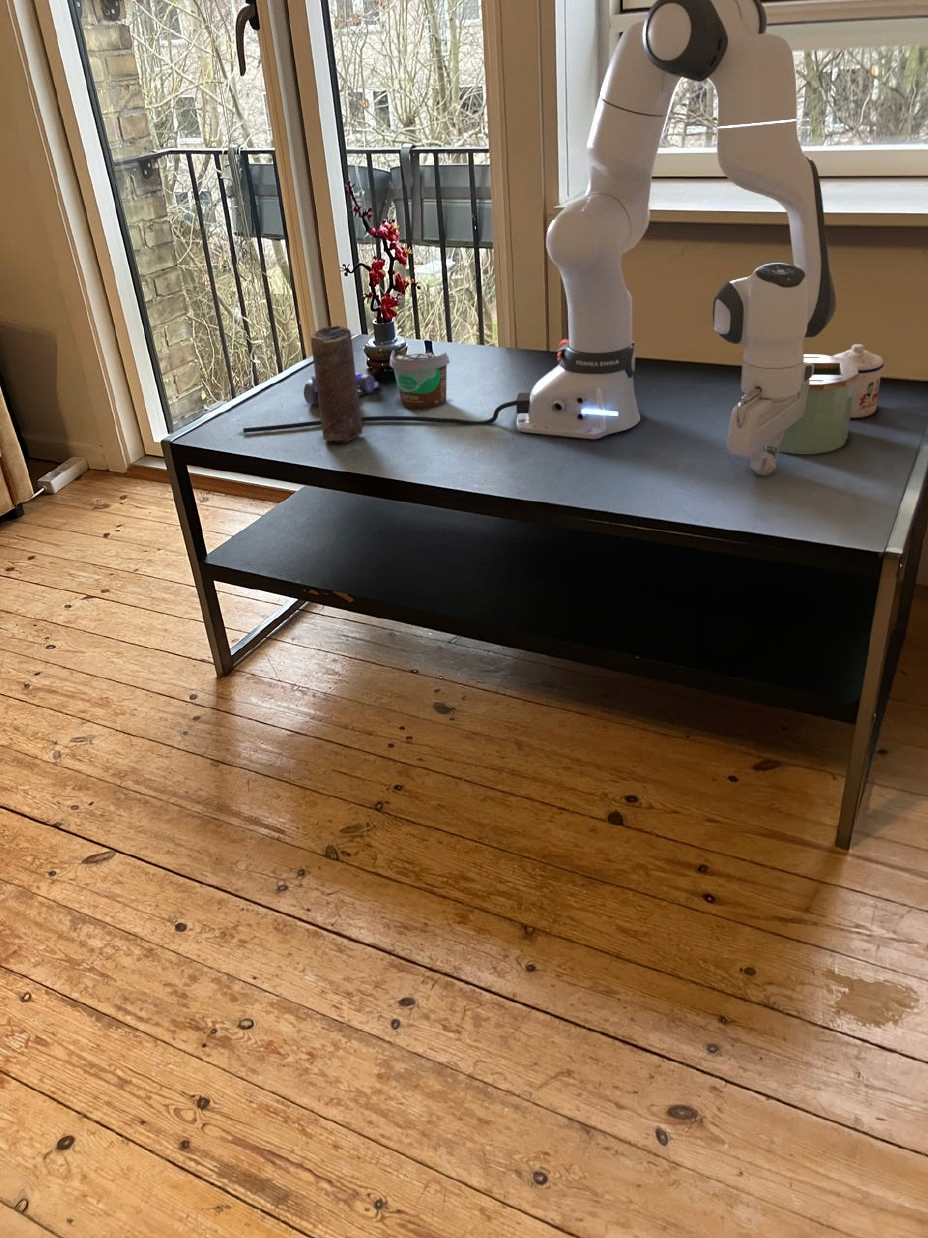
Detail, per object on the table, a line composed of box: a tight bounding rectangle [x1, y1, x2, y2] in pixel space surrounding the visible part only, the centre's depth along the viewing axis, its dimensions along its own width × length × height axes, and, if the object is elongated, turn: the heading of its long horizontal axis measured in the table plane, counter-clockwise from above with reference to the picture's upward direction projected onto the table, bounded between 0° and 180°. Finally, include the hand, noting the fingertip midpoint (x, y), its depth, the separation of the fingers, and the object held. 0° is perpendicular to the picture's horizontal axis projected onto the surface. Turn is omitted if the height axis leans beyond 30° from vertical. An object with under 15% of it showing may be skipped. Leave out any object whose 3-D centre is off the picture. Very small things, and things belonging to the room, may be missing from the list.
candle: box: [310, 325, 363, 443], centre depth 182 cm, size 8×7×20 cm
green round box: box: [764, 369, 855, 455], centre depth 168 cm, size 14×14×11 cm
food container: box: [389, 349, 450, 410], centre depth 197 cm, size 12×6×10 cm, turn 68°
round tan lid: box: [804, 353, 859, 390], centre depth 165 cm, size 15×15×1 cm
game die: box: [754, 451, 777, 476], centre depth 160 cm, size 4×4×3 cm
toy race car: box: [303, 372, 379, 406], centre depth 205 cm, size 10×15×6 cm, turn 152°
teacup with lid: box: [831, 343, 885, 419], centre depth 178 cm, size 12×9×12 cm
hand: (764, 463), depth 160 cm, fingers closed on game die, 3 cm apart
